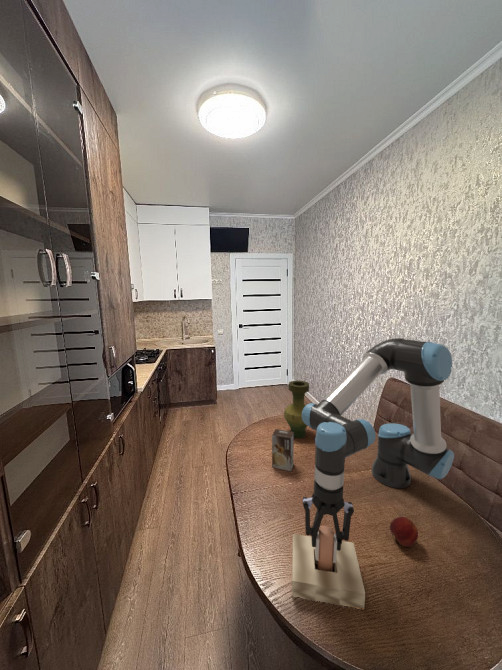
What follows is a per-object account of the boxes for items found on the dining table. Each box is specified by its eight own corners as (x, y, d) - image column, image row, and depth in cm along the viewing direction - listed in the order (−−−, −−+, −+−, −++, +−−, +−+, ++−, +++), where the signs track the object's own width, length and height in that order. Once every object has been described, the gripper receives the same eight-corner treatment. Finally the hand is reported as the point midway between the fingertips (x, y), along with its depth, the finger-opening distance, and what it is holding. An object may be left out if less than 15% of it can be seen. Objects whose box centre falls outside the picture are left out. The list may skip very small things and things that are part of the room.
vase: (282, 426, 161) (283, 379, 157) (309, 427, 161) (310, 379, 156) (284, 441, 145) (285, 388, 141) (314, 442, 144) (316, 388, 140)
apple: (416, 557, 81) (419, 534, 80) (388, 544, 85) (389, 522, 84) (416, 538, 87) (419, 516, 86) (390, 527, 91) (392, 506, 90)
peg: (331, 566, 77) (332, 526, 75) (332, 581, 73) (334, 539, 71) (316, 564, 78) (318, 524, 76) (317, 578, 74) (319, 537, 72)
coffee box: (294, 463, 126) (294, 431, 124) (290, 471, 120) (291, 438, 118) (275, 459, 129) (275, 428, 127) (271, 467, 123) (271, 434, 121)
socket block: (352, 557, 81) (353, 542, 80) (364, 610, 67) (365, 593, 67) (292, 547, 84) (292, 533, 83) (291, 597, 70) (292, 580, 69)
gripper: (358, 475, 74) (354, 549, 77) (296, 468, 76) (294, 540, 80) (365, 495, 66) (360, 575, 70) (296, 487, 69) (294, 565, 72)
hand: (325, 556), depth 75 cm, fingers closed on peg, 4 cm apart
